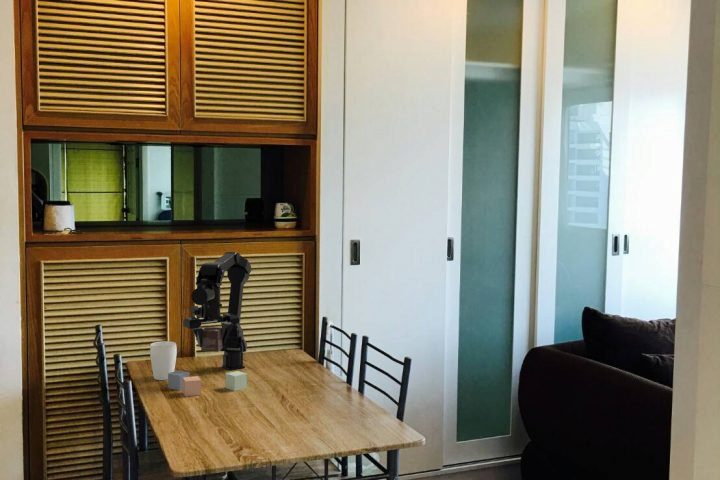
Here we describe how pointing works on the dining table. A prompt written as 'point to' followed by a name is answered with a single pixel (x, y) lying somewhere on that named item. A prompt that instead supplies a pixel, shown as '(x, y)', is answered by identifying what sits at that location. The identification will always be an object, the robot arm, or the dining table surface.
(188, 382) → the cube terracotta
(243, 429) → the dining table surface
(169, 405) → the dining table surface
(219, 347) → the box
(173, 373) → the cube slate
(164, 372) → the cup
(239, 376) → the cube sage
